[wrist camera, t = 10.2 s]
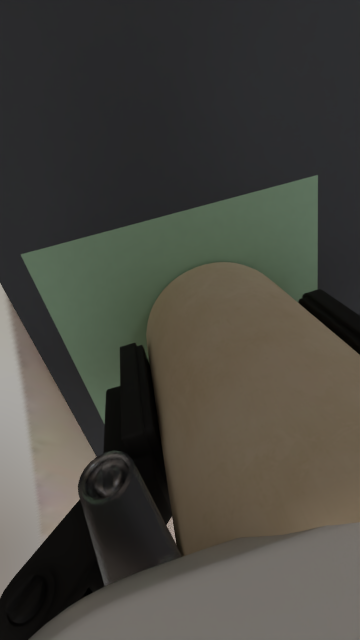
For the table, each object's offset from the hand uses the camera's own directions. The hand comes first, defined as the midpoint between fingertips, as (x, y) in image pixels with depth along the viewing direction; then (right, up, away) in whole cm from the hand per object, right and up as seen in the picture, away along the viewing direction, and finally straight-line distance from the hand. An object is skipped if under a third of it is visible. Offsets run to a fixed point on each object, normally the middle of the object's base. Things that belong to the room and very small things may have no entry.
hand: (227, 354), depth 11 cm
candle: (0, +1, +1) cm, 2 cm away
